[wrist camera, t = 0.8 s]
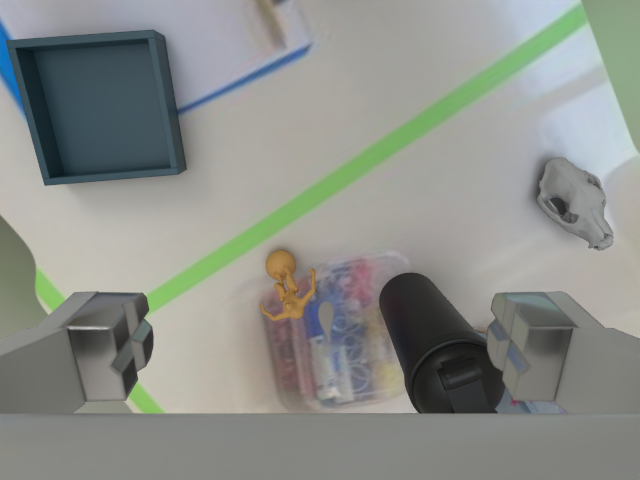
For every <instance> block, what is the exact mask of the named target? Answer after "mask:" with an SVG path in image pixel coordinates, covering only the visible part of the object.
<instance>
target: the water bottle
mask: <svg viewBox="0 0 640 480" xmlns="http://www.w3.org/2000/svg"><path fill="white" fill-rule="evenodd" d="M379 305H380V309H381V312H382V315H383V318H384V320H385V323H386V326H387V329H388V331H389V334H390V337H391V340H392V343H393V345H394V348H395V351H396V354H397V356H398V359H399V362H400V365H401V367H402V370H403V373H404V380H405V387H406V390H407V393H408V395H409V398H410V400H411V403H412V405H413V406H414V408H415V409H416V410H417V411H418V413H498V412H497V411H496V410H495V409H496V407H497V406H498V405H499V403H500V401H501V399H502V397H503V394H504V391H505V388H506V386H505V384H504V382H503V381H502V376H503V372H502V371H501V370H499V369H498V368H496V367H494V365H493V363H492V362H491V360H490V357H489V354H488V351H487V341H486V339H485V338H483V337H482V336H480V335H478V333H477V332H476V331H475V330H474V329H473V328H472V327H471V326H470V324H469V323H468V322H467V321H466V320H465V319H464V318H463V317H462V315H461V314H460V313H459V312H458V311H457V310H456V309H455V308H454V306H453V305H452V304H451V303H450V302H449V301H448V300H447V299H446V297H445V296H444V295H443V294H442V293H441V292H440V291H439V290H438V288H437V287H436V286H435V285H434V284H433V283H432V282H431V281H430V280H429V279H428V278H427V277H425V276H423V275H421V274H417V273H405V274H401V275H398V276H396V277H394V278H393V279H391V280H390V281H389V282H388V283H387V284H386V285H385V286H384V288H383V290H382V292H381V295H380V300H379Z"/></svg>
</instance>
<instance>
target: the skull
mask: <svg viewBox="0 0 640 480" xmlns="http://www.w3.org/2000/svg"><path fill="white" fill-rule="evenodd" d="M539 187H540V189H541V192H540V194H539V196H538V198H537V203H538V205H539V206H540V208H541V209H542V210H543V211H544V212H545V213H546V214H547V215H548V216H549V217H551V218H552V219H553V220H554V221H556V222H557V223H558V224H559V225H561V226H562V227H563V228H564V229H565V230H566V231H567V232H569V233H573V234H575V235H577V236H579V237H581V238H583V239H585V240H586V241H588V242H589V246H588V248H594V249H597V248H598V249H597V250H598V251H600V250H605V248H607V247H610V246H611V245H612V243H613V238H614V237H613V232H612V230H611V228H610V226H609V224H608V223H607V221H606V220H605V219H604V207H605V205H606V198H605V194H604V192H603V189H602V187H601V183H600V180H599V179H598V178H597V177H596V176H595V175H593V174H590V173H588V172H587V171H582V170H580V169H579V168H577V167H575V166H574V165H573V164H572V163H571V162H569V161H568V160H567V159H566V158H563V157H558V158H554V159H552V160H550V161H549V162H547V164H546V165H545V172H544V174H543V178H542V180H540V181H539ZM554 197H556V198H560V199H561V200H562V201H563V203H564V205H565V208H566V211H567V212H565V215H564V216H563V215H561V213H559V211H558V209H557V207H556V206H554V205H553V203H552V202H551V201H550V199H551V198H554Z"/></svg>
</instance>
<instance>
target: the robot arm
mask: <svg viewBox="0 0 640 480" xmlns="http://www.w3.org/2000/svg"><path fill="white" fill-rule="evenodd" d="M148 311H149V306H148V301H147V297H146V296H145V295H144V294H143V293H128V292H98V291H97V292H75V293H73V294H72V295H71V296H70V297H69V298H68V299H67V300H65V301H64V302H63V303H62V304H61V305H60V306H59V307H58V308H56V309H55V310H54V311H53V312H52V313H51V314H50V315H49V316H48V317H46V318H45V319H44V320H43V321H42V322H41V323H40V324H39V325H37V326H36V327H35V328H26V329H24V330H21V331H19V332H16V333H14V334H11V335H9V336H6V337H3V338H1V339H0V480H640V339H639V338H636V337H634V336H631V335H629V334H626V333H624V332H621V331H619V330H616V329H614V328H605V327H604V326H603V325H601V324H600V323H599V322H598V321H597V320H596V319H595V318H594V317H593V316H591V315H590V314H589V313H588V312H587V311H586V310H585V309H584V308H583V307H581V306H580V305H579V304H578V303H577V302H576V301H575V300H574V299H572V298H571V297H570V296H569V295H568V294H567V293H564V292H561V291H559V292H514V293H497V294H495V296H494V298H493V300H492V306H491V311H492V313H493V314H494V316H495V317H496V319H495V320H494V321H493V322H492V323H491V324H490V325H489V326H488V330H487V338H486V341H487V351H488V354H489V357H490V360H491V362H492V363H493V365H494V367H496V368H498V369H499V370H501V371H502V372H503V376H502V381H503V382H504V384H505V386H506V387H507V389H508V391H509V392H510V394H511V396H512V397H513V399H514V401H545V402H555V404H556V405H557V406H559V407H560V408H561V409H563V410H564V411H565V412H567V413H127V414H125V413H123V414H122V413H118V414H117V413H115V414H113V413H109V414H108V413H107V414H106V413H104V414H101V413H100V414H99V413H97V414H96V413H95V414H94V413H93V414H92V413H91V414H90V413H86V414H85V413H83V414H81V413H79V414H77V413H73V412H75V411H76V410H77V409H79V408H80V407H81V406H83V405H84V404H85V402H94V401H126V399H127V397H128V396H129V394H130V392H131V391H132V389H133V387H134V386H135V384H136V382H137V381H138V376H137V372H138V371H139V370H141V369H142V368H144V367H146V365H147V363H148V362H149V360H150V358H151V354H152V350H153V330H152V326H151V325H150V324H149V323H148V322H147V321H146V320H145V319H144V317H145V316H146V314H147V313H148Z"/></svg>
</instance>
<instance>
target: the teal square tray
mask: <svg viewBox="0 0 640 480" xmlns="http://www.w3.org/2000/svg"><path fill="white" fill-rule="evenodd" d="M6 44H7V48H8V52H9V55H10V59H11V63H12V66H13V70H14V74H15V78H16V81H17V85H18V89H19V92H20V96H21V100H22V104H23V107H24V111H25V115H26V118H27V122H28V126H29V130H30V133H31V137H32V141H33V144H34V148H35V152H36V156H37V159H38V163H39V167H40V170H41V174H42V178H43V181H44V185H45V186H47V185H59V184H70V183H82V182H94V181H106V180H118V179H130V178H142V177H153V176H165V175H177V174H180V173H182V172H183V171H185V170H187V168H186V162H185V156H184V150H183V144H182V139H181V133H180V127H179V121H178V115H177V109H176V103H175V97H174V91H173V85H172V79H171V73H170V67H169V61H168V55H167V49H166V43H165V37H164V35H162V34H160V33H158V32H156V31H155V30H143V31H129V32H116V33H102V34H88V35H74V36H60V37H46V38H33V39H19V40H6Z"/></svg>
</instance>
